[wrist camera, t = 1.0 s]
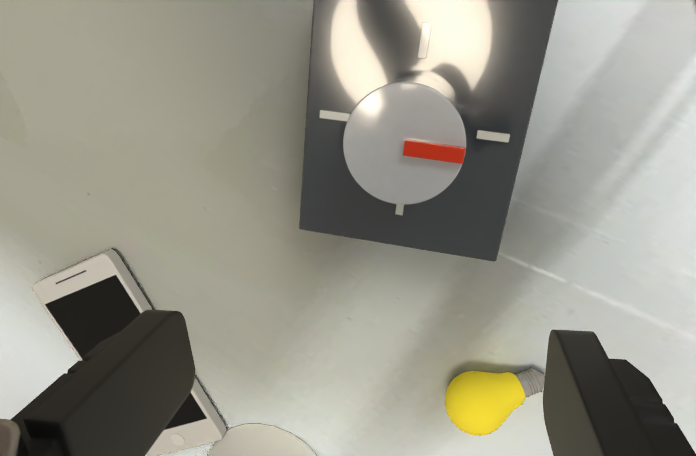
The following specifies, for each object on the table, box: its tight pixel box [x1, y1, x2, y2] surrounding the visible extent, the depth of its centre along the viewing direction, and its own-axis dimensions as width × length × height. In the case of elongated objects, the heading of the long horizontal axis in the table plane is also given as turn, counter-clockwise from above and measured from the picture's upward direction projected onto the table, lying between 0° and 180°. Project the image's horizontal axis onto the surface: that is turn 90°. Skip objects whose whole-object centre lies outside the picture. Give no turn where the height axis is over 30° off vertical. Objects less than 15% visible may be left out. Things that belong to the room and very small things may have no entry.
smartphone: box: [32, 249, 226, 456], centre depth 33 cm, size 7×15×1 cm, turn 25°
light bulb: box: [445, 368, 545, 436], centre depth 28 cm, size 3×6×4 cm, turn 111°
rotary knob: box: [343, 75, 466, 205], centre depth 19 cm, size 4×4×5 cm
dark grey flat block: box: [299, 0, 558, 261], centre depth 23 cm, size 12×10×3 cm
